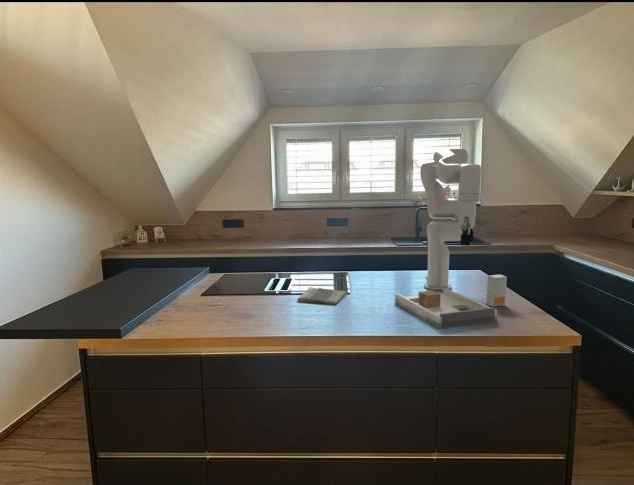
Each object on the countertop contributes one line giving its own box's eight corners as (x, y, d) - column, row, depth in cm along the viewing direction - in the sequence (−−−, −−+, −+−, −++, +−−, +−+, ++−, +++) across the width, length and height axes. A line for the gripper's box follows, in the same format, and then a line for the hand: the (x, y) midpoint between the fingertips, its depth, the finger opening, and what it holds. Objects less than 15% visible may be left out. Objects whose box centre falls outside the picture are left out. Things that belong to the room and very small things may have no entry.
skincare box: (492, 307, 165) (494, 277, 163) (485, 303, 169) (487, 275, 167) (505, 305, 167) (507, 276, 165) (498, 302, 171) (500, 274, 169)
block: (418, 303, 164) (418, 291, 163) (431, 302, 166) (431, 290, 165) (426, 308, 159) (426, 295, 158) (440, 306, 160) (440, 293, 160)
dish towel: (337, 307, 170) (337, 299, 169) (296, 303, 176) (296, 296, 175) (348, 294, 187) (348, 287, 187) (311, 291, 193) (311, 285, 192)
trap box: (395, 302, 173) (395, 291, 172) (445, 297, 179) (445, 285, 179) (438, 328, 142) (439, 314, 142) (496, 321, 149) (497, 307, 148)
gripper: (461, 196, 163) (459, 239, 166) (454, 199, 148) (452, 246, 151) (482, 196, 160) (479, 240, 163) (477, 199, 145) (474, 247, 148)
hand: (466, 243), depth 157 cm, fingers open, 9 cm apart
